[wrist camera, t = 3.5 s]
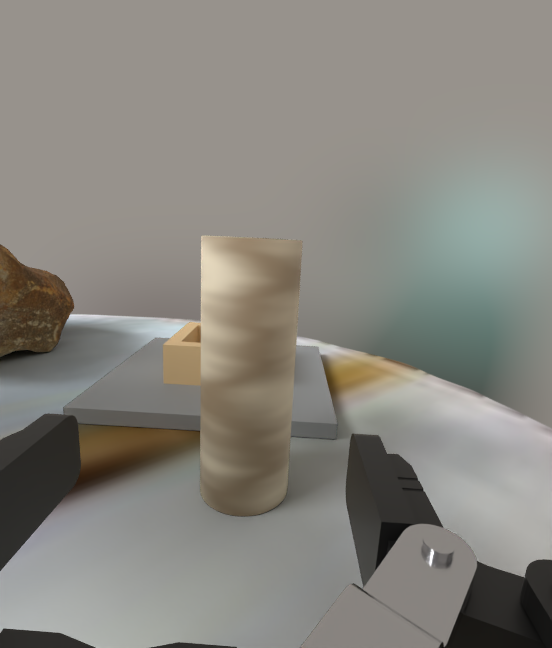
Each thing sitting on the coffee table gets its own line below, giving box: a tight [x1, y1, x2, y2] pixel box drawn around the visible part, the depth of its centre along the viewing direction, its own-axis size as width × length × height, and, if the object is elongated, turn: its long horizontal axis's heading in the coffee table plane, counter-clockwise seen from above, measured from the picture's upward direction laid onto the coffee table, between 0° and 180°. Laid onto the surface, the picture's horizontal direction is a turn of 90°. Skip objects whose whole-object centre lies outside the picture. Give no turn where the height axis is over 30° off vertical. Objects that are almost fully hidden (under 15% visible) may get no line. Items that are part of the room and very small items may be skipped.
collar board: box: [63, 322, 338, 439], centre depth 38 cm, size 20×20×5 cm
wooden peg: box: [200, 236, 302, 516], centre depth 21 cm, size 5×5×14 cm
